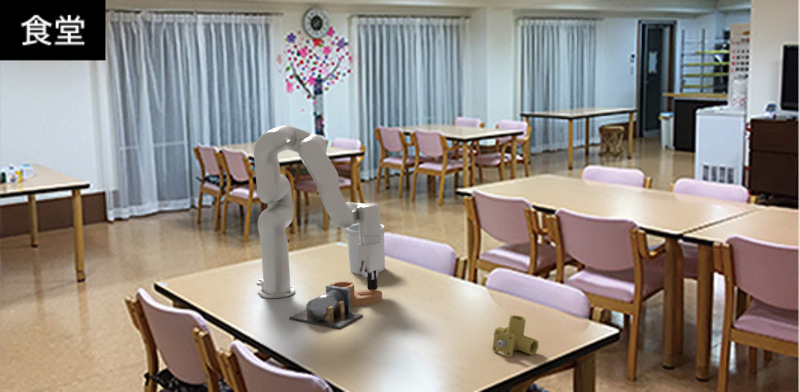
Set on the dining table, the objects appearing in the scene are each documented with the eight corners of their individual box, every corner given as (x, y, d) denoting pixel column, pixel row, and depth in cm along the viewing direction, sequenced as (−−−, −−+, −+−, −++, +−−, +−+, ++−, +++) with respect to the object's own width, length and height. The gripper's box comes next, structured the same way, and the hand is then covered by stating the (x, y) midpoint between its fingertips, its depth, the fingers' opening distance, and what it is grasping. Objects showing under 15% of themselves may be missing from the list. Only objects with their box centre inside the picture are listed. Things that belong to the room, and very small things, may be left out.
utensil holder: (371, 277, 304) (370, 232, 301) (340, 272, 312) (338, 228, 309) (393, 267, 316) (391, 224, 313) (362, 263, 324) (361, 221, 321)
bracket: (333, 309, 269) (332, 289, 267) (328, 301, 277) (327, 282, 275) (384, 303, 273) (384, 283, 272) (379, 296, 281) (378, 277, 280)
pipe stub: (289, 319, 259) (288, 294, 258) (316, 306, 271) (314, 283, 269) (339, 329, 249) (338, 303, 247) (364, 315, 260) (363, 291, 259)
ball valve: (503, 344, 234) (481, 349, 227) (507, 310, 233) (486, 314, 226) (538, 357, 226) (517, 363, 219) (543, 322, 224) (522, 327, 217)
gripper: (373, 233, 286) (375, 282, 289) (349, 242, 274) (351, 293, 277) (390, 235, 282) (392, 284, 286) (367, 244, 270) (369, 296, 273)
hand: (372, 289), depth 281 cm, fingers closed
